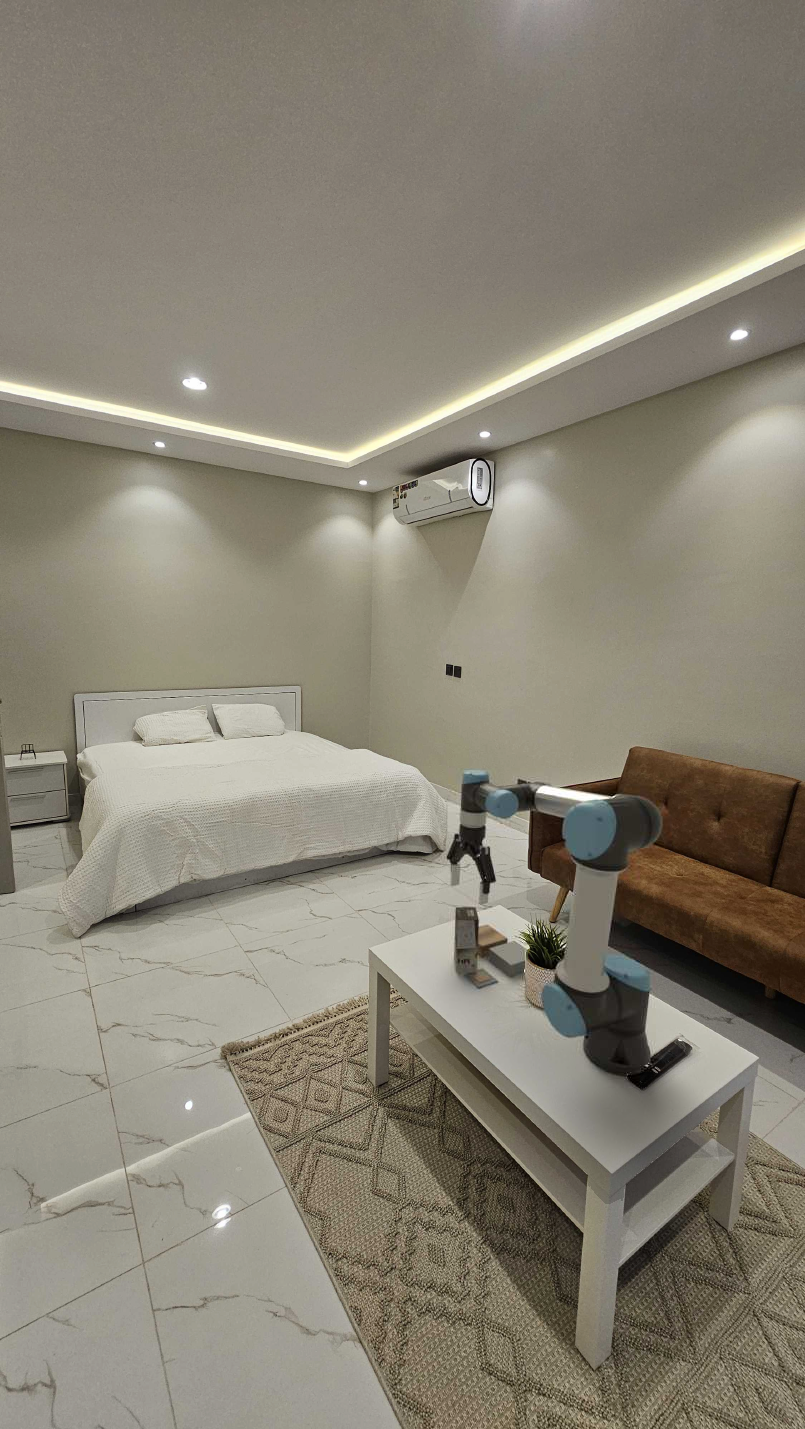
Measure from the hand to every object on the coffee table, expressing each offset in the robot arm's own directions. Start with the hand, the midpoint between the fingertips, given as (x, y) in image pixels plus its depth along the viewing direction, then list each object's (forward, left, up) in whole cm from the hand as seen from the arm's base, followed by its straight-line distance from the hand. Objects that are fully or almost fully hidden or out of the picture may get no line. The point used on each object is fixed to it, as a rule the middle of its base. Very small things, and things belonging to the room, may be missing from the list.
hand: (468, 894), depth 176 cm
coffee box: (0, 0, -22) cm, 23 cm away
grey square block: (-6, -13, -23) cm, 27 cm away
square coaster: (-8, 0, -23) cm, 24 cm away
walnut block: (+6, -12, -23) cm, 26 cm away
